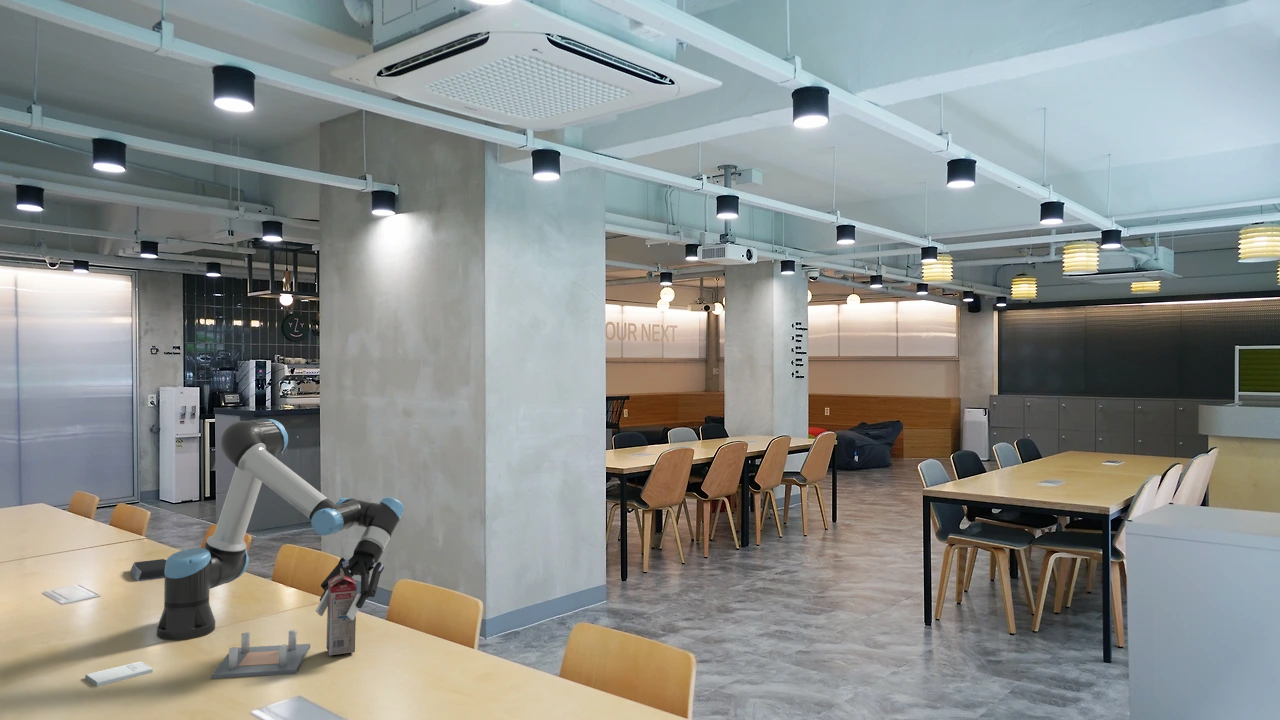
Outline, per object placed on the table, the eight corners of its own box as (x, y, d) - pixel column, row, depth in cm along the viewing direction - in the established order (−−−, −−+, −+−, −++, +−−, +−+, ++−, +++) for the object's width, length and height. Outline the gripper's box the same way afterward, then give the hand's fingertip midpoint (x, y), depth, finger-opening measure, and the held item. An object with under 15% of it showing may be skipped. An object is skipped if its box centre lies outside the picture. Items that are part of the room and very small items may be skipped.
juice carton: (329, 655, 218) (331, 574, 219) (326, 647, 224) (328, 568, 225) (354, 652, 222) (357, 572, 222) (351, 644, 227) (353, 566, 228)
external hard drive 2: (85, 680, 202) (140, 666, 212) (97, 688, 197) (152, 673, 207) (85, 673, 202) (140, 660, 212) (97, 682, 197) (152, 667, 207)
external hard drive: (134, 583, 292) (134, 571, 292) (128, 572, 307) (128, 561, 307) (175, 577, 300) (175, 566, 300) (167, 567, 315) (167, 556, 315)
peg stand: (211, 678, 203) (211, 654, 203) (233, 651, 222) (233, 629, 223) (295, 673, 207) (296, 650, 207) (310, 647, 227) (310, 625, 227)
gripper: (409, 556, 235) (374, 627, 219) (345, 549, 241) (307, 617, 226) (398, 541, 230) (362, 613, 214) (334, 535, 236) (294, 604, 221)
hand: (334, 615), depth 220 cm, fingers closed on juice carton, 9 cm apart
